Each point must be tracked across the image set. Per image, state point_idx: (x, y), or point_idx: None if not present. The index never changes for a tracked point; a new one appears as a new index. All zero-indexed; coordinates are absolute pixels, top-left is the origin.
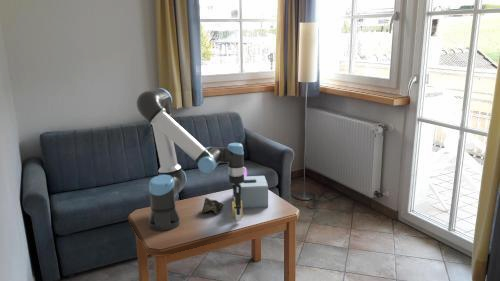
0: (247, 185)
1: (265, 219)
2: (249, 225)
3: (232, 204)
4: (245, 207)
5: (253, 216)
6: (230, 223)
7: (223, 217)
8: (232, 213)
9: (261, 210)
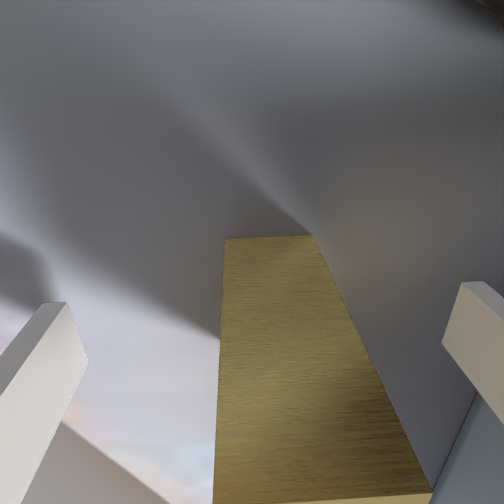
0: None
1: (182, 493)
2: None
3: (216, 466)
4: None
5: None
6: (38, 209)
7: (264, 89)
8: (230, 278)
9: None
